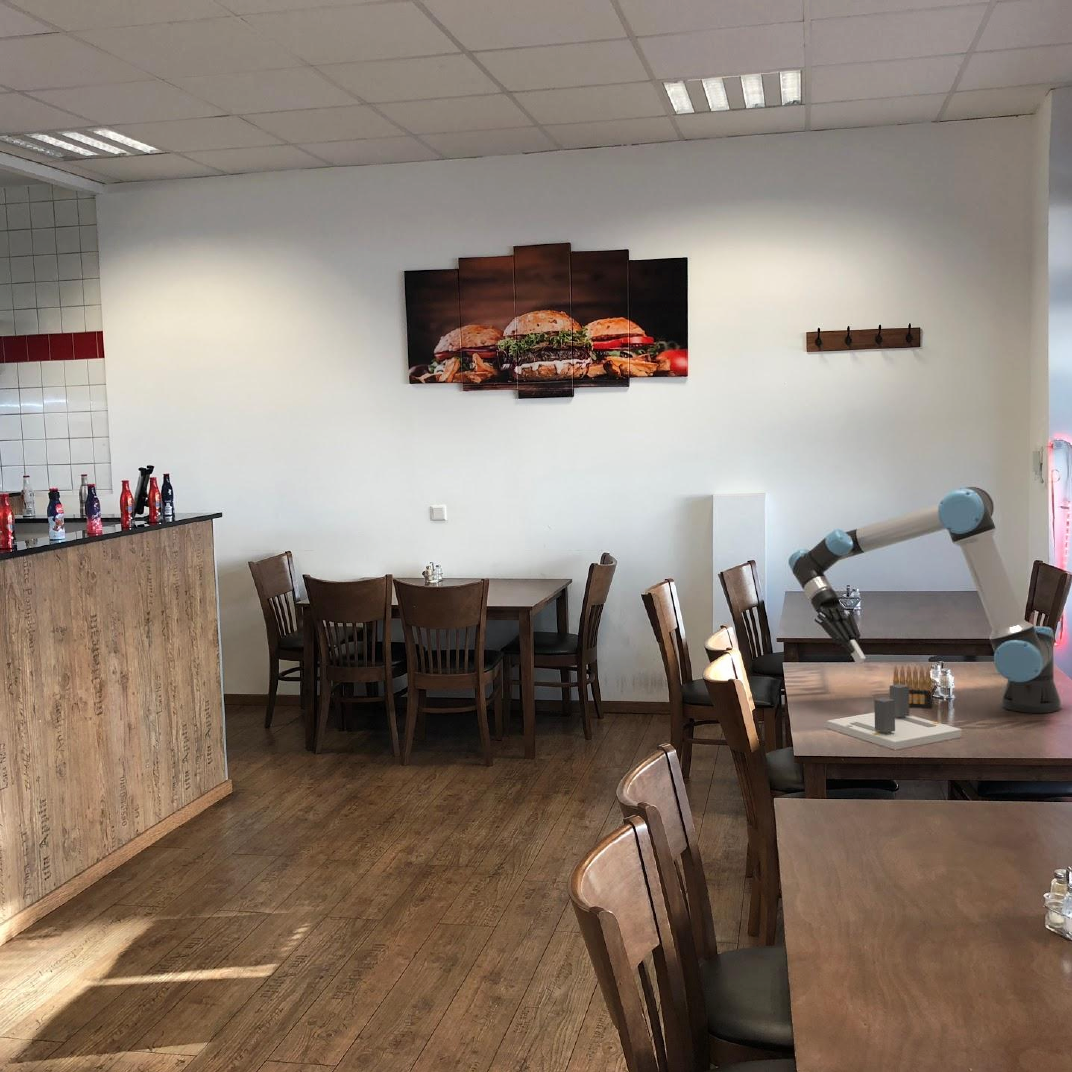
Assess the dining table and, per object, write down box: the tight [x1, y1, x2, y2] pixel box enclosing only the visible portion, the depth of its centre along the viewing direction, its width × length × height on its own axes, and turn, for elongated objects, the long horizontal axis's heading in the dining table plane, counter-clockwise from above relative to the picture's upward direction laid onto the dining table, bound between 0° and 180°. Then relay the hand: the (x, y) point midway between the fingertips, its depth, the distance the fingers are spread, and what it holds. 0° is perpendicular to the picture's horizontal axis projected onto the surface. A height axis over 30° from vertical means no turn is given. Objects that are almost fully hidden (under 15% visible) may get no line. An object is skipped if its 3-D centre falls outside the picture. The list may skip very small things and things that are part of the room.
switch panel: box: [826, 711, 963, 751], centre depth 295 cm, size 26×22×2 cm
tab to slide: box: [889, 683, 910, 717], centre depth 302 cm, size 4×4×8 cm
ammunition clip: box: [892, 664, 933, 710], centre depth 321 cm, size 11×2×12 cm, turn 66°
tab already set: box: [873, 697, 895, 733], centre depth 287 cm, size 4×4×8 cm
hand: (861, 661), depth 314 cm, fingers closed
